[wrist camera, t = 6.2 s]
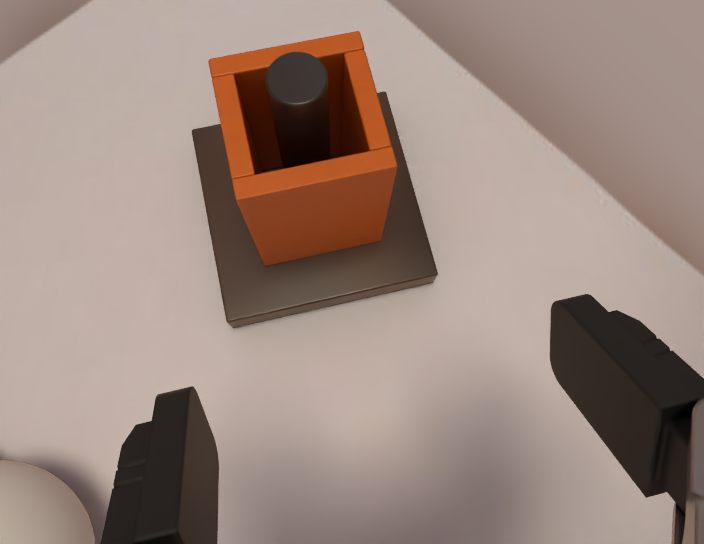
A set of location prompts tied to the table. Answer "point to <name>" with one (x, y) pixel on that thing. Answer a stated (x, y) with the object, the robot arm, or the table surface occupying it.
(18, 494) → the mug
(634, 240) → the table surface
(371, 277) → the stake
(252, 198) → the orange square tube
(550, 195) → the table surface
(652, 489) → the robot arm
